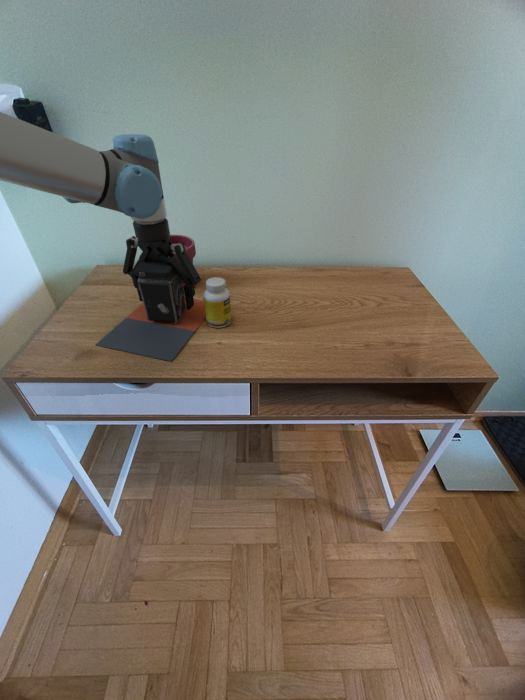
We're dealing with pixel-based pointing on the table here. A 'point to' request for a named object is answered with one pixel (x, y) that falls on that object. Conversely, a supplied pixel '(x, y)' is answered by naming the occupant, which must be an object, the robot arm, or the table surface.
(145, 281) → the camera
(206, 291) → the pill bottle
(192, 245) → the flower pot
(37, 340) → the table surface
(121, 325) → the desk mat
